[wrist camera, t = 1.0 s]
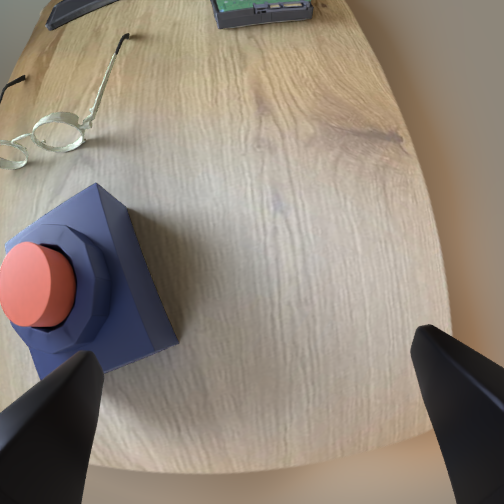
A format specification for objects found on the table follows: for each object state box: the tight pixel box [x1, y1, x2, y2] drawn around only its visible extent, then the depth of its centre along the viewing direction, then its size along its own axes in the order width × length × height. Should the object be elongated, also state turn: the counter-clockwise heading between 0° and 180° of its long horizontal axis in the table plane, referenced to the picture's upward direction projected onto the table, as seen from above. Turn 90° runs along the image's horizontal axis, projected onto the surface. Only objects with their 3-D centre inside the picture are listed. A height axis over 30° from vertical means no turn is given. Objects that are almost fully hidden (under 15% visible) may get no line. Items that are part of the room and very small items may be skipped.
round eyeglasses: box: [0, 33, 129, 169], centre depth 23 cm, size 17×15×5 cm
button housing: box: [5, 183, 179, 380], centre depth 18 cm, size 11×9×7 cm
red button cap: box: [0, 242, 76, 327], centre depth 14 cm, size 4×4×2 cm
